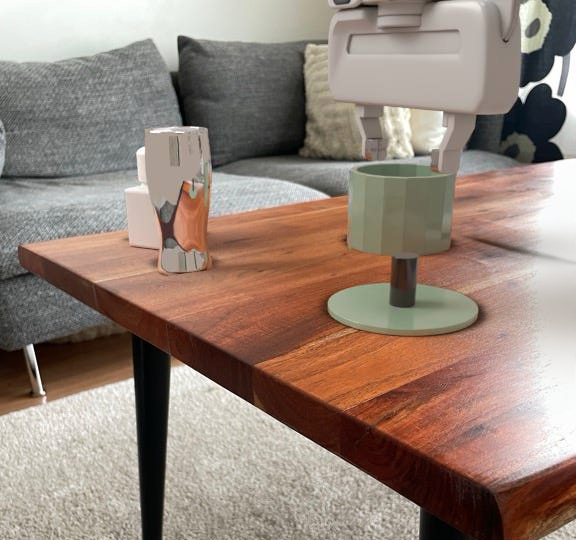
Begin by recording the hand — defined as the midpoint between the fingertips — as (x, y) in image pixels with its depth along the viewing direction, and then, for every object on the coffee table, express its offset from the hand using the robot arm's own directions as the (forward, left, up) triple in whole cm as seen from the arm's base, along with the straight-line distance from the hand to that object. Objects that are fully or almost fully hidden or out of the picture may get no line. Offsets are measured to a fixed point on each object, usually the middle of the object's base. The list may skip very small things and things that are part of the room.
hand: (406, 165), depth 61 cm
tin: (-16, -21, -13) cm, 29 cm away
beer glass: (+11, -25, -14) cm, 30 cm away
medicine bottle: (+8, -38, -14) cm, 41 cm away
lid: (0, 0, -13) cm, 13 cm away
